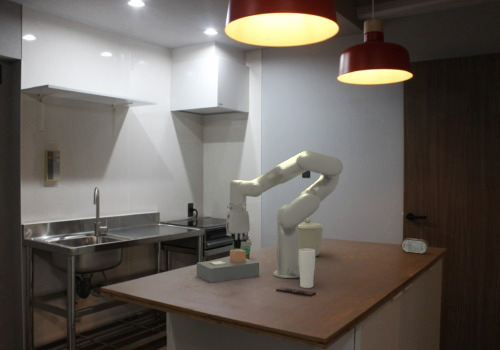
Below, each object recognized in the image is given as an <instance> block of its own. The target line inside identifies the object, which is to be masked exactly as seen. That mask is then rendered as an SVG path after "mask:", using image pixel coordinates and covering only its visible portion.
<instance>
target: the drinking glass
mask: <svg viewBox="0 0 500 350" xmlns="http://www.w3.org/2000/svg"><path fill="white" fill-rule="evenodd" d="M315 264H316V256H315V250H314V249H299V256H298V266H299V273H300V277H299V286H300V287H301V288H304V289H311V288H313V287H314V278H315V277H314V276H315V267H316V265H315Z"/></svg>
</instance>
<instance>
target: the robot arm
mask: <svg viewBox="0 0 500 350" xmlns="http://www.w3.org/2000/svg"><path fill="white" fill-rule="evenodd" d="M343 170H344V163H343V161H342V160H341V159H339V158H338V157H334V156H332V155H327V154H323V153H319V152H315V151H311V150H304V151H302V152H300V153H298V154H296V155H293V156H292V157H290V158H289V159H287V160H285V161H283V162H282V163H279V164H277V165H276V166H274V167H273V168H272V169H270V170H269V171H266V172H265V173H263V174H262V175H260V176H258V177H256V178H254V179H252V180H241V179H236V180H235V179H233V180H230V182H229V204H228V205H227V206H226V208H227V209H228V211H227V215H226V220H225V221H226V223H225V224H226V225H225V230H226V234H225V235H226V236H229V237H231V238H232V239H233V242H234V248H236V249H238V248H239V249H240V246H241V242H242V241H243V238H244V236H247V235H249V232H250V215H249V210H247V197H252V198H257V197H260V196H261V195H262V194H263V193H265V192H267V191H268V190H270V189H272V188H274V187H277V186H278V185H281V184H285V183H288V182H290V181H291V180H293V179H294V178H296V177H298V176H300V175H302V174H304V173H306V172H308V171H309V172H312V173H317V174H320V176H319V178H318V179H317V180H315V181H314V182H313V183H312V184H311V185H310V186H308V187H307V188H305V190H303V191H301V192H300V193H299V194H298V195H297V197H296V198H295V199H294V200H292V201H291V202H290V203H289V204H285V205H282V206H280V207H279V209H278V210H277V213H276V226H277V227H276V229H277V231H276V233H277V235H276V236H277V237H276V255H277V256H276V270H275V271H273V276H274V277H275V278H276V277H277V278H282V279H297V278H300V273H299V256H298V225H299V224H300V223H302V222H305V221H304V220H306V219H307V218H310V217H311V216H312V215H314V214H315V213H316V212H317V211H318V209H319V208H320V205H321V202H322V201H323V202H324V200H325V199H326V198H327V197H328V196H330V195H331V194H332V193H333V192H334V191H335V190H336V189H337V187H338V184H339V180H340V174H342V172H343ZM234 248H233V249H234Z"/></svg>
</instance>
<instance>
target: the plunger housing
mask: <svg viewBox="0 0 500 350" xmlns="http://www.w3.org/2000/svg"><path fill="white" fill-rule="evenodd" d="M217 261H222V262H224V263H226V265H218V266H214V265H212V264H210V262H217ZM259 276H260V262H258V261H256V260H253V259H250V258H249V259H247V258H246V262H243V263H233V262H230V258H225V259H218V260H208V261H199V262H196V277H198V278H199V279H202V280H204V281H207V283H209V284H212V283H213V284H214V283H220V281H221V282H226V281H227V280H228V281H234V280H242V279H247V278H248V279H249V278H257V277H259ZM228 281H227V282H228Z"/></svg>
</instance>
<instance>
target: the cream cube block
mask: <svg viewBox="0 0 500 350" xmlns="http://www.w3.org/2000/svg"><path fill="white" fill-rule="evenodd" d="M210 264H212V265H214V266H218V265H226V263H224V262H222V261H217V262H210Z"/></svg>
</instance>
